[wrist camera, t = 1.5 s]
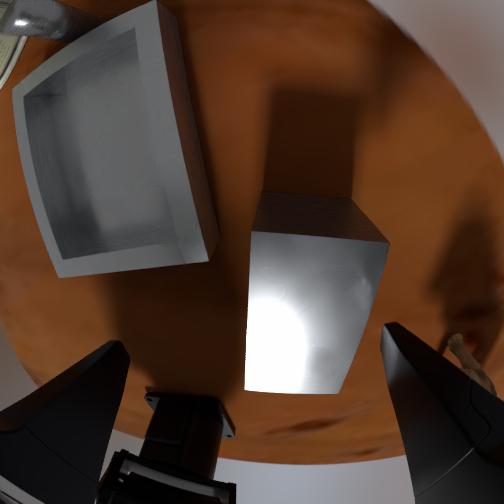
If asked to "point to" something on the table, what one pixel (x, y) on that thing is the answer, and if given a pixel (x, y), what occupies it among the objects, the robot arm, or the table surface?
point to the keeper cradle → (111, 141)
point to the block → (309, 291)
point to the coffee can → (9, 48)
